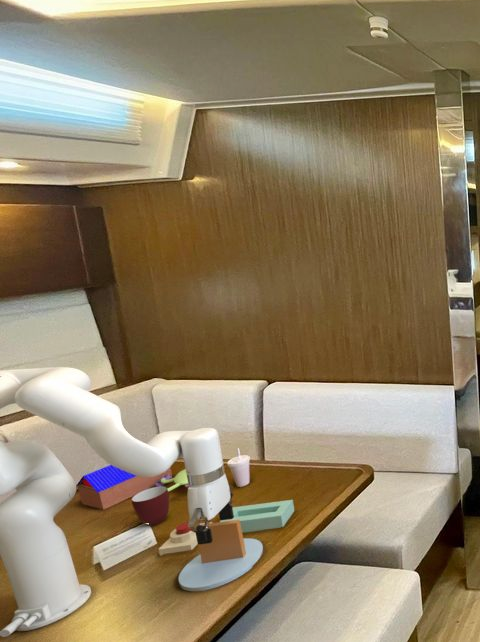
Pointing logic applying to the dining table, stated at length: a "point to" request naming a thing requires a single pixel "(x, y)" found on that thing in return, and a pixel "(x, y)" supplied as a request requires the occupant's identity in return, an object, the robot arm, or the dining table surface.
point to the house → (113, 486)
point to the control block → (179, 542)
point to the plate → (219, 569)
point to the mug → (152, 505)
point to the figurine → (174, 480)
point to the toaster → (263, 515)
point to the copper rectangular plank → (223, 542)
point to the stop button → (183, 528)
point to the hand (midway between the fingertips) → (216, 530)
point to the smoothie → (240, 469)
